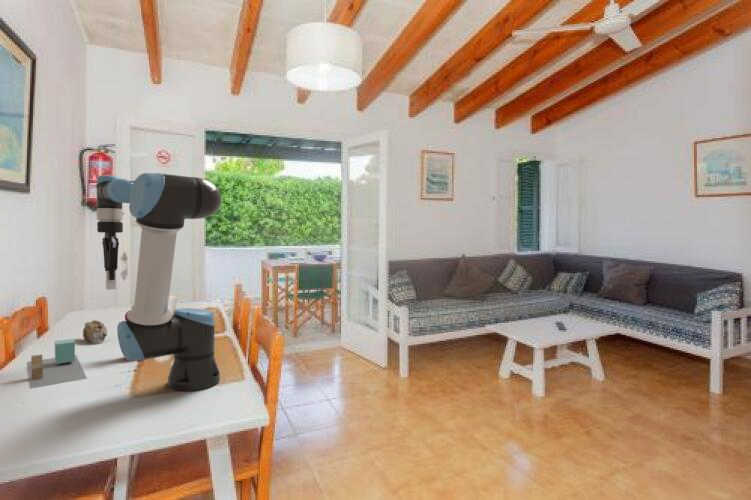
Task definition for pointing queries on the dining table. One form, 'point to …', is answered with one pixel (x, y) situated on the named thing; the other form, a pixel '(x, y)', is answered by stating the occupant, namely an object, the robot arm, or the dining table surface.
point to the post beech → (36, 367)
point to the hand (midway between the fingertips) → (111, 289)
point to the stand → (57, 373)
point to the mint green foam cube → (64, 351)
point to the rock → (94, 332)
